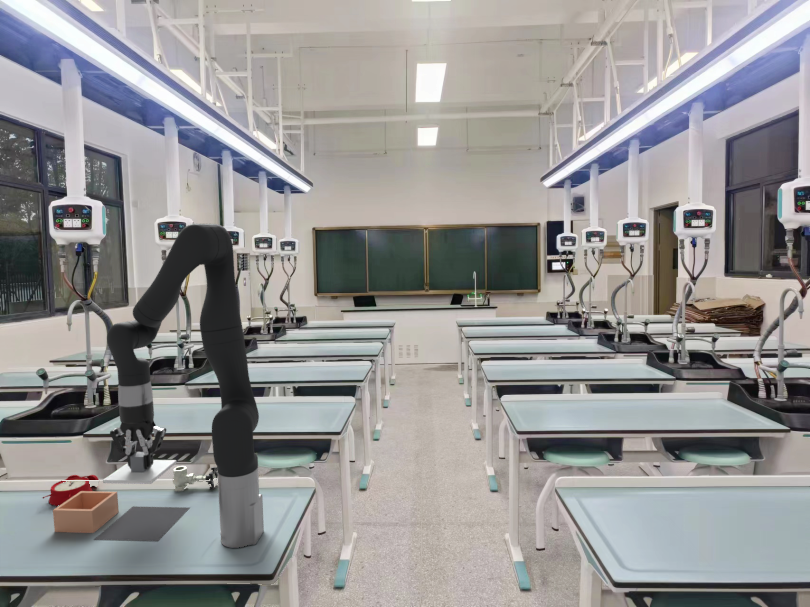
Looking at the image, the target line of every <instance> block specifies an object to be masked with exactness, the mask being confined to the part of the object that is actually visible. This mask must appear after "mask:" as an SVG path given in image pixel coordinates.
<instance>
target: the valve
mask: <svg viewBox="0 0 810 607" xmlns="http://www.w3.org/2000/svg"><path fill="white" fill-rule="evenodd" d="M172 471H173V477H172V484H173V485H174V486H175V489H174V491H175V492H184V491H185V490H184V488H185V487H186V486H187V485H194V484H195V483H196V482H197V483H199V482H200V483H201V482H204V481H205V480H209V479H210V481H205V483H207V485H209V484H211V486H209V490H215V488H214V481H213V479H214V478H217V479H218V472H217V466H211V468H210V472H209V473H208V474H206V475H205V476H204V475H195V473H189V474H188V468H187V466H185V465H180V466H179V465H178V466H176V467H174V468H173V470H172ZM173 479H174V480H173ZM199 480H203V481H199ZM174 486H173V487H174Z"/></svg>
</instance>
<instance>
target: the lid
mask: <svg viewBox="0 0 810 607" xmlns="http://www.w3.org/2000/svg"><path fill="white" fill-rule="evenodd" d="M136 452H137V453H135V454H134V455H132V456H131V457H130V462H131V469H130V467H129V466H128V462H127V463H126V464H124V465H122V466H121V467H119V468H118V469H117V470H115V471H114V472H112V473H111V474H110V475H108V476H106V477H105V478H104V479H102V484H125V485H126V484H128V485H129V484H132V485H134V484H136V485H137V484H140V485H143V484H144V485H152V484H153V483H154V482H155V481H157V480H158V479H159V478H160V477H162V476H163V475H164V474H165V473H166V472H167V471H169V470H170V469H171V468H172V467H174V466H175V465H176V464H177V460H176V459H153V465H152V466H151V467H150V468H149V469H145V466H144V456H143V455H145V454H144V452H143V451H136Z"/></svg>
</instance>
